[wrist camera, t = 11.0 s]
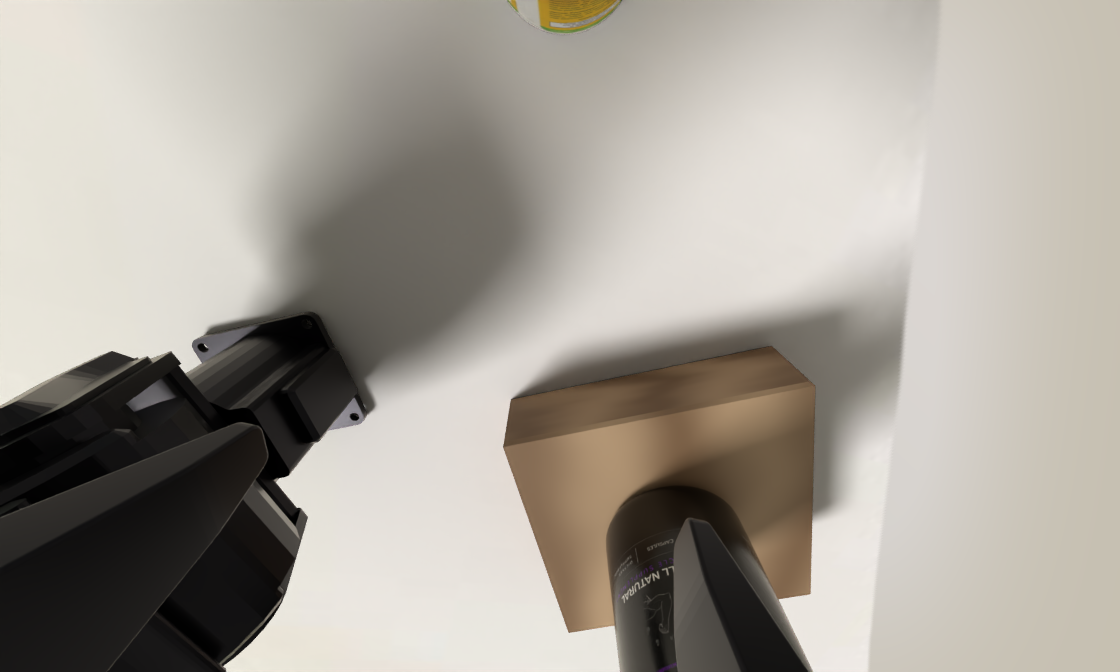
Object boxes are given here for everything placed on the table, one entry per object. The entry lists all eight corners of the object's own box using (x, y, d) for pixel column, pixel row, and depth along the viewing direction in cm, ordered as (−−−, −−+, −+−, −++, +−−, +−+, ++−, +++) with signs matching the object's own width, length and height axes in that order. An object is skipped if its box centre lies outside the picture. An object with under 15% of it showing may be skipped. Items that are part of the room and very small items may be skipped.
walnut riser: (566, 570, 29) (568, 632, 25) (510, 399, 23) (503, 447, 19) (776, 534, 28) (810, 594, 24) (771, 346, 22) (815, 385, 18)
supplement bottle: (623, 468, 20) (710, 855, 9) (757, 491, 21) (987, 875, 10) (587, 567, 23) (621, 957, 12) (707, 584, 23) (843, 966, 13)
